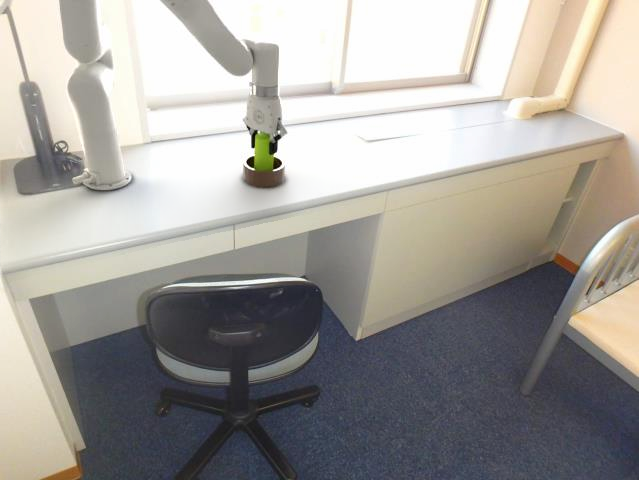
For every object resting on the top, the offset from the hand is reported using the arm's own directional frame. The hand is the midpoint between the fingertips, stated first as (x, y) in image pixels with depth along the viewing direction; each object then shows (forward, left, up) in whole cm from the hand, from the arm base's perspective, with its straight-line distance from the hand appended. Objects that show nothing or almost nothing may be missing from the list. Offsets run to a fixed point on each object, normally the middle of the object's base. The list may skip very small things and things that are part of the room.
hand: (264, 149), depth 133 cm
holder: (0, 0, -10) cm, 10 cm away
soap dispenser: (0, 0, -9) cm, 9 cm away
